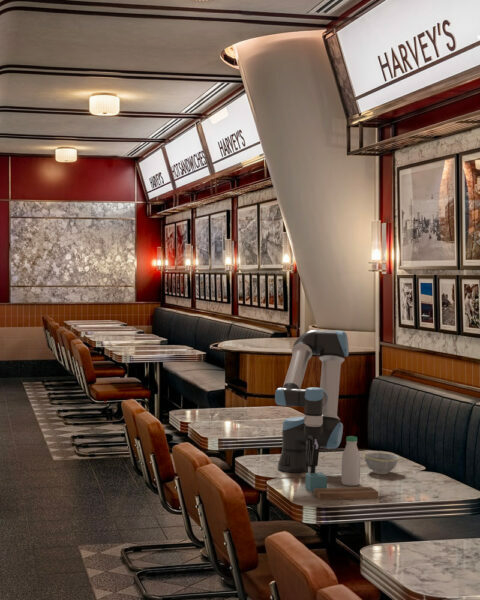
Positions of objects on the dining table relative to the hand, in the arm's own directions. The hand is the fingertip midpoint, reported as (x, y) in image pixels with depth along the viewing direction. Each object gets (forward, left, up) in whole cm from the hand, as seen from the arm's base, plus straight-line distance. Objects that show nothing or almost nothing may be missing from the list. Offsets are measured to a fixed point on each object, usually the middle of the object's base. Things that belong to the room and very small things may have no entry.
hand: (311, 481), depth 366 cm
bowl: (-21, +39, -2) cm, 44 cm away
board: (+18, +9, -2) cm, 20 cm away
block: (+5, 0, -2) cm, 6 cm away
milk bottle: (-2, +18, -2) cm, 18 cm away
